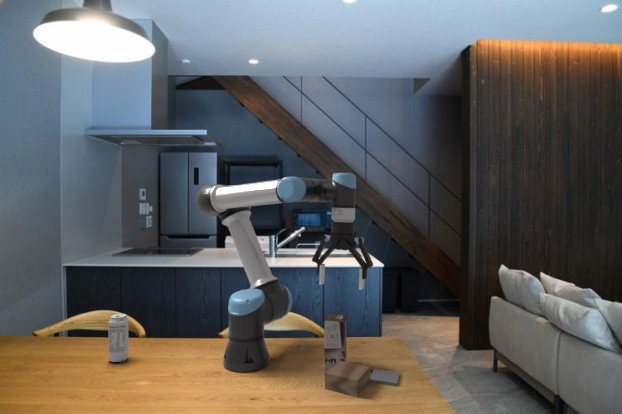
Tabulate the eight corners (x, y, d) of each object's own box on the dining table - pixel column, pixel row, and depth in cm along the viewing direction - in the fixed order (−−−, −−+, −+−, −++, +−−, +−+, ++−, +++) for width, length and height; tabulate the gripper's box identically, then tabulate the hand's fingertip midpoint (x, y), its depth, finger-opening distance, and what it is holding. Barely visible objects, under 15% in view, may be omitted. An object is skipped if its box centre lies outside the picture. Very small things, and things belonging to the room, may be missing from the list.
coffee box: (343, 372, 124) (344, 321, 124) (323, 371, 126) (323, 320, 125) (346, 361, 133) (347, 313, 133) (328, 359, 135) (328, 312, 134)
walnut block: (324, 390, 114) (324, 372, 113) (339, 376, 122) (339, 360, 122) (357, 398, 109) (357, 380, 109) (370, 383, 117) (370, 367, 117)
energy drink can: (131, 356, 136) (131, 313, 136) (123, 363, 130) (123, 318, 130) (113, 356, 136) (113, 313, 136) (105, 363, 130) (105, 318, 130)
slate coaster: (369, 382, 118) (369, 379, 118) (374, 371, 126) (374, 368, 126) (397, 386, 115) (397, 383, 115) (399, 374, 123) (399, 372, 123)
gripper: (303, 219, 130) (301, 284, 130) (377, 223, 119) (375, 293, 120) (312, 218, 136) (310, 279, 137) (384, 222, 126) (381, 288, 127)
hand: (341, 286), depth 128 cm, fingers open, 13 cm apart
